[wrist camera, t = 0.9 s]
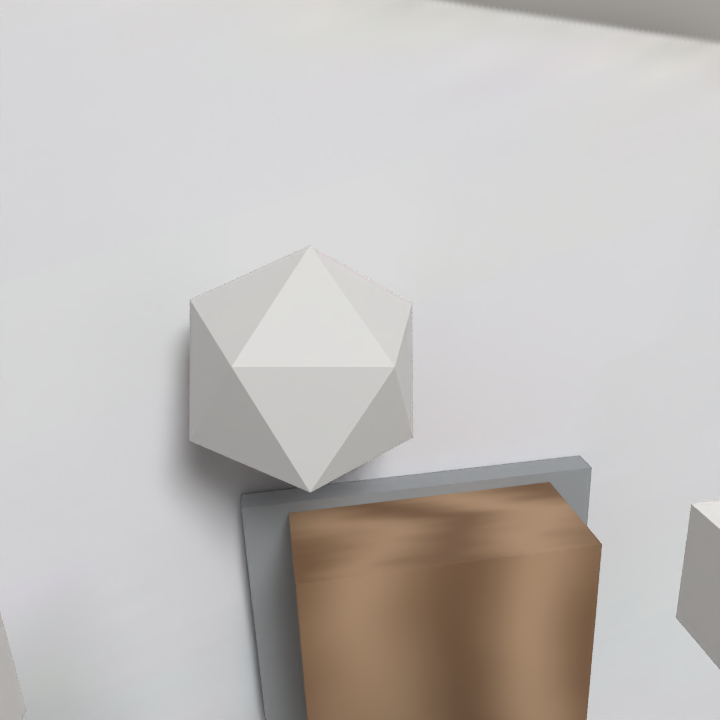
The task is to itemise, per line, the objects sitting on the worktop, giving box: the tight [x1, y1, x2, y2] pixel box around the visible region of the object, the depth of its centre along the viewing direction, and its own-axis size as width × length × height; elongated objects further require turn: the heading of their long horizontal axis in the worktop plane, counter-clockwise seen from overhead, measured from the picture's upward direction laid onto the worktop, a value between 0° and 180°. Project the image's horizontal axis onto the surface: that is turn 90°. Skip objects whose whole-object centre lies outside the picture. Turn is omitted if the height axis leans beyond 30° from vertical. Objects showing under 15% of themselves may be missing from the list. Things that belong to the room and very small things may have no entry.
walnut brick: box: [289, 482, 602, 720], centre depth 31 cm, size 12×12×5 cm
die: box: [189, 246, 413, 492], centre depth 25 cm, size 8×9×10 cm
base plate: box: [241, 456, 592, 720], centre depth 33 cm, size 16×13×1 cm
